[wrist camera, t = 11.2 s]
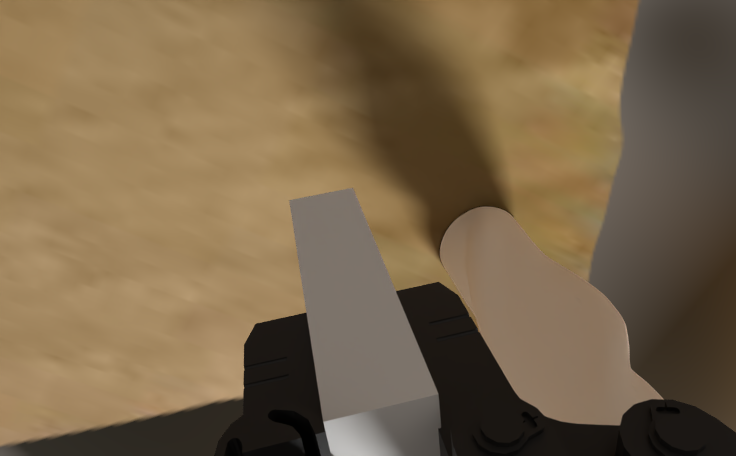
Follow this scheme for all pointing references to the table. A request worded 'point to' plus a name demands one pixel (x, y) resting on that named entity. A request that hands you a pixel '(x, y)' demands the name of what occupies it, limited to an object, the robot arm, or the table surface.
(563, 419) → the water bottle
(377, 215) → the table surface
